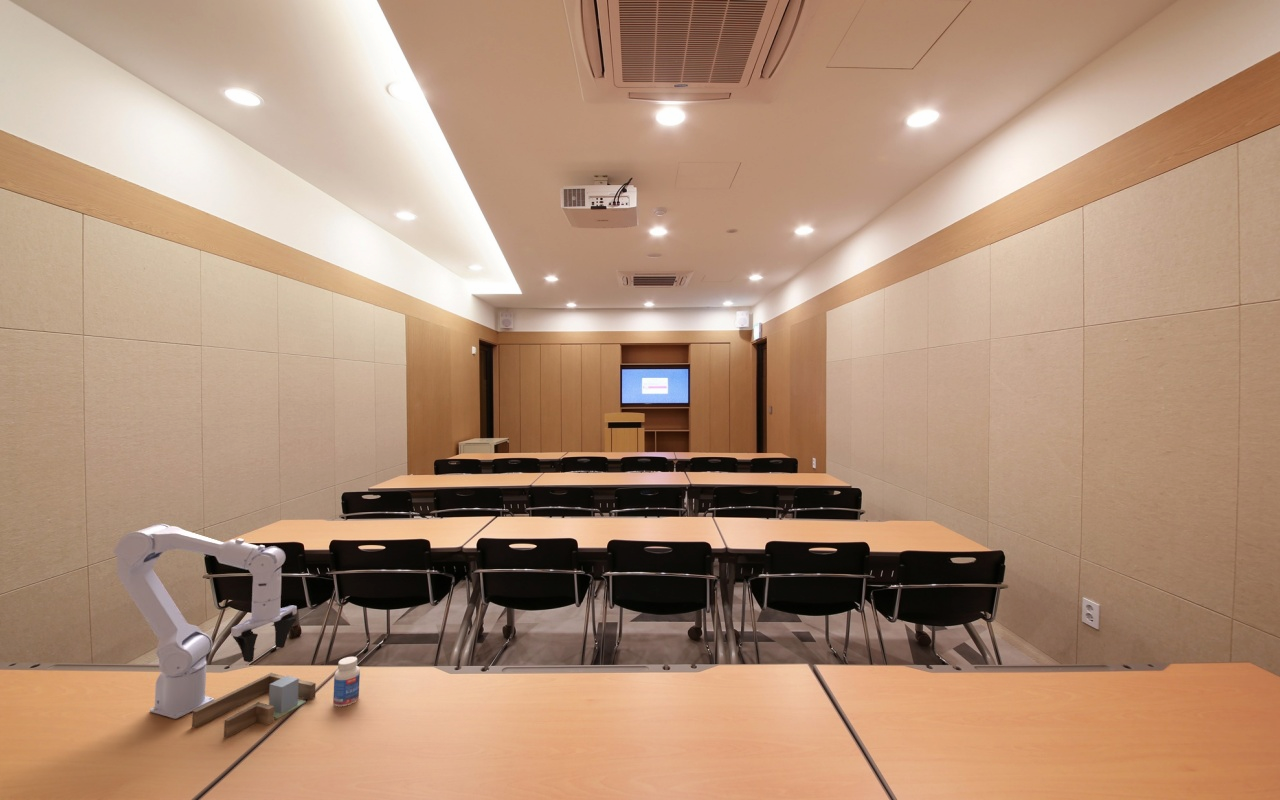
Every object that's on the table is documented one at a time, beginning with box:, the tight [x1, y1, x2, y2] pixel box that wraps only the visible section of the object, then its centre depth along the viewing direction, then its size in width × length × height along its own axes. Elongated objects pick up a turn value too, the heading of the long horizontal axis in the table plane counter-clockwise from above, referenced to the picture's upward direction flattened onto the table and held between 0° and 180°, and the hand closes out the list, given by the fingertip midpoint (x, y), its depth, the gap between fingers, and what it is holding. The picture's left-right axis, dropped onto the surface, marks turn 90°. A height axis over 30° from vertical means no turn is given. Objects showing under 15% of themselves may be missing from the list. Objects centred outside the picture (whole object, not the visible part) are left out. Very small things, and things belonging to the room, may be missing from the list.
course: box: [191, 672, 317, 738], centre depth 116 cm, size 15×17×4 cm
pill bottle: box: [332, 656, 361, 708], centre depth 120 cm, size 6×5×10 cm
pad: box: [274, 698, 307, 720], centre depth 117 cm, size 6×7×1 cm
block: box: [268, 675, 299, 713], centre depth 117 cm, size 4×4×6 cm
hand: (264, 653), depth 122 cm, fingers open, 7 cm apart
